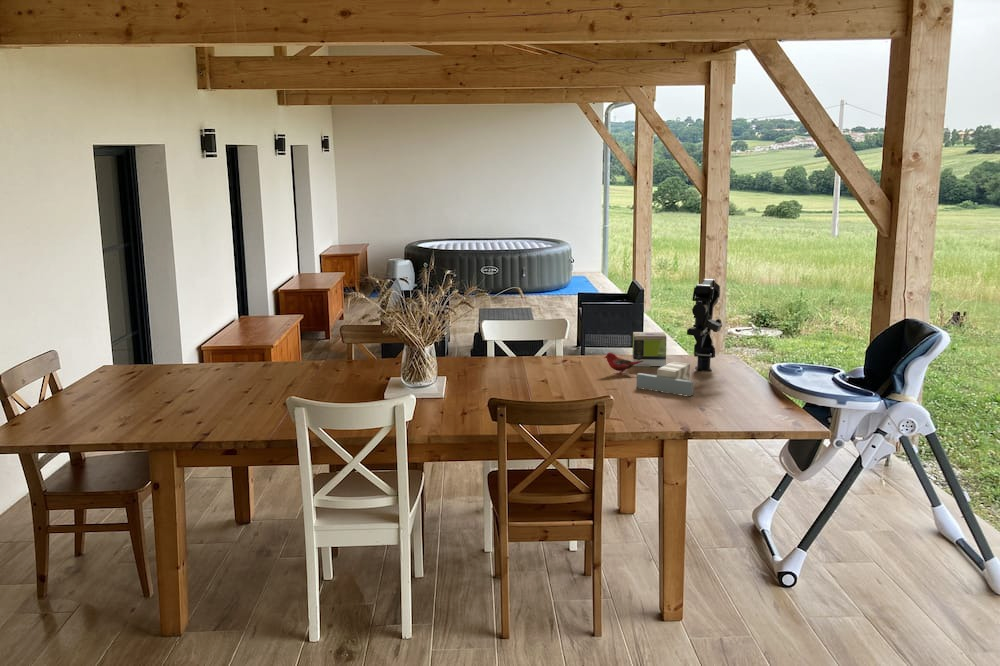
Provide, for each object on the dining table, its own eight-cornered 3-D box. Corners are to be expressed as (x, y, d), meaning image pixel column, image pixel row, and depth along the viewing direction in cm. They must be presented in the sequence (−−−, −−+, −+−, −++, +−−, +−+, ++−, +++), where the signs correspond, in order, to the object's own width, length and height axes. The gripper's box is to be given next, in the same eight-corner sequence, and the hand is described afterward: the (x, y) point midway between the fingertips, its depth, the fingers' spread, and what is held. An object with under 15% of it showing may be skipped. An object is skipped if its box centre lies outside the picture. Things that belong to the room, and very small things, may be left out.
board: (639, 386, 370) (639, 372, 369) (692, 395, 357) (693, 381, 356) (636, 388, 368) (636, 374, 367) (690, 396, 355) (691, 382, 354)
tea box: (664, 362, 412) (665, 331, 409) (665, 367, 403) (667, 336, 399) (631, 361, 414) (632, 331, 411) (632, 366, 404) (634, 335, 401)
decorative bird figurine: (603, 373, 392) (603, 351, 389) (642, 373, 392) (643, 351, 390) (604, 375, 389) (604, 353, 387) (643, 374, 389) (644, 353, 387)
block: (671, 381, 379) (672, 361, 377) (689, 384, 375) (690, 363, 373) (656, 389, 366) (657, 369, 364) (674, 392, 362) (675, 371, 360)
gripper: (712, 318, 368) (710, 354, 372) (727, 311, 383) (725, 346, 387) (687, 315, 374) (685, 351, 378) (703, 309, 390) (701, 343, 393)
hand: (700, 348), depth 384 cm, fingers closed
